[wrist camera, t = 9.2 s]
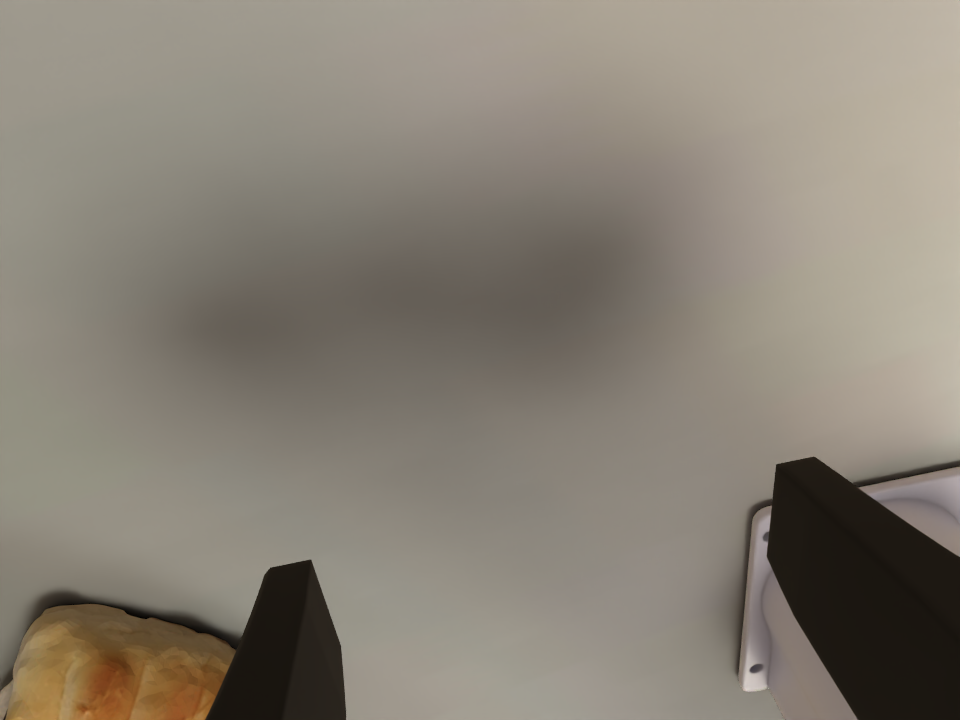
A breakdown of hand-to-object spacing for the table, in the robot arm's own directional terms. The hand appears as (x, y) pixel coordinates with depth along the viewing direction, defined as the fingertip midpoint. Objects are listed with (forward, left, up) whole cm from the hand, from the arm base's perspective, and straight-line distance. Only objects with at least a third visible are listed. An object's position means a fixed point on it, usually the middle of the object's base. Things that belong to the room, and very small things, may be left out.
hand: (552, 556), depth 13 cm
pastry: (-12, +12, -10) cm, 19 cm away
